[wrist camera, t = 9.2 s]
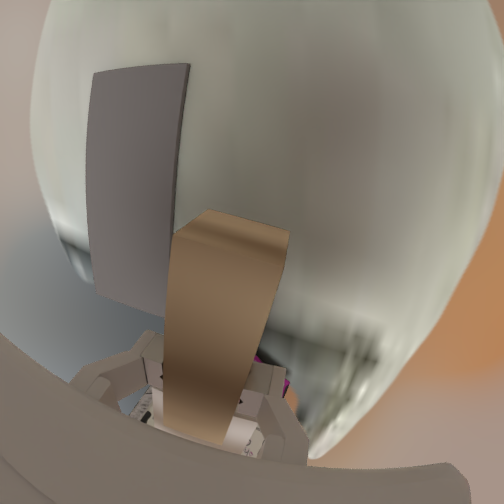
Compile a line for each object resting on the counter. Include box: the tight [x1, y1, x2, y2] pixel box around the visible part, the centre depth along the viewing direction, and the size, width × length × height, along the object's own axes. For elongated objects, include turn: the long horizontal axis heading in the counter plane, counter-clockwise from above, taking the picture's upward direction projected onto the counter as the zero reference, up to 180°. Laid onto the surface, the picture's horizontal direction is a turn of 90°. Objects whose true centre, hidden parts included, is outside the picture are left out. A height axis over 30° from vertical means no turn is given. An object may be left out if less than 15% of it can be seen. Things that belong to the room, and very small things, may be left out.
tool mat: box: [86, 63, 190, 318], centre depth 23 cm, size 24×10×1 cm, turn 171°
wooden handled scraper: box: [152, 209, 290, 455], centre depth 12 cm, size 17×6×3 cm, turn 167°
